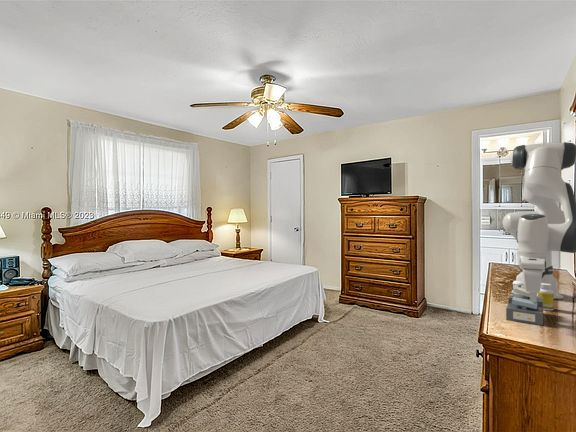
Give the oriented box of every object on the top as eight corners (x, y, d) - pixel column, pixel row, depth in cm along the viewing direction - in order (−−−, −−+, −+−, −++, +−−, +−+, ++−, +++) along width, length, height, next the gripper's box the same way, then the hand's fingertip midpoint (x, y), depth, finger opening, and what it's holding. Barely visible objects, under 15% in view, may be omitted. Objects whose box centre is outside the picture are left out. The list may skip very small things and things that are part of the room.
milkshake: (529, 304, 132) (529, 280, 132) (513, 302, 135) (513, 279, 135) (527, 302, 136) (527, 278, 136) (512, 300, 139) (512, 277, 139)
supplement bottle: (557, 311, 122) (556, 285, 122) (540, 310, 123) (540, 285, 124) (548, 307, 128) (548, 282, 128) (533, 306, 129) (532, 282, 129)
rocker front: (512, 300, 117) (513, 296, 117) (537, 305, 112) (537, 301, 112) (511, 303, 112) (512, 299, 112) (536, 309, 108) (537, 305, 108)
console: (510, 308, 126) (510, 291, 126) (543, 313, 120) (542, 294, 120) (506, 319, 112) (506, 300, 112) (542, 325, 105) (542, 304, 105)
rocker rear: (514, 289, 124) (515, 285, 124) (536, 296, 120) (537, 293, 119) (513, 291, 119) (514, 288, 119) (536, 299, 115) (537, 295, 115)
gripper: (523, 257, 121) (523, 293, 121) (520, 263, 105) (520, 305, 105) (544, 258, 117) (545, 296, 117) (544, 265, 101) (545, 309, 101)
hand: (533, 300), depth 111 cm, fingers closed
